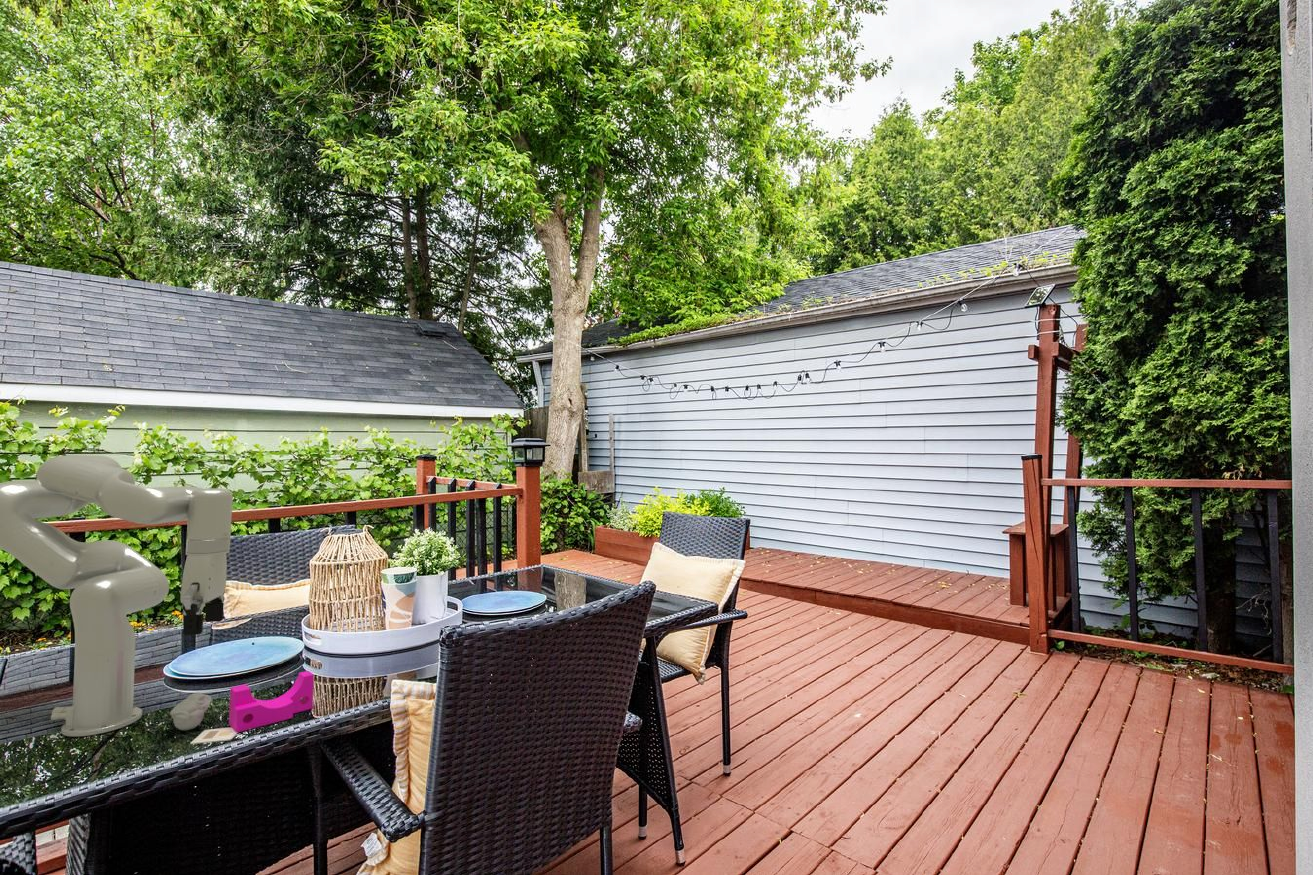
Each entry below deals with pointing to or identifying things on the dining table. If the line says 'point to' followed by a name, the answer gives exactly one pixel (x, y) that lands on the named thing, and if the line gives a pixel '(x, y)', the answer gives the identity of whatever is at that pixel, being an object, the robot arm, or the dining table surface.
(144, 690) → the dining table surface
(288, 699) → the toy block
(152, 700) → the dining table surface
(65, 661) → the dining table surface
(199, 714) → the frog figurine
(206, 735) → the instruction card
